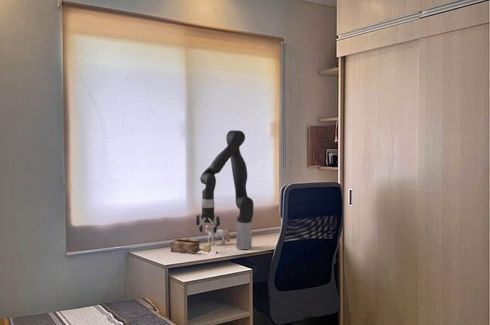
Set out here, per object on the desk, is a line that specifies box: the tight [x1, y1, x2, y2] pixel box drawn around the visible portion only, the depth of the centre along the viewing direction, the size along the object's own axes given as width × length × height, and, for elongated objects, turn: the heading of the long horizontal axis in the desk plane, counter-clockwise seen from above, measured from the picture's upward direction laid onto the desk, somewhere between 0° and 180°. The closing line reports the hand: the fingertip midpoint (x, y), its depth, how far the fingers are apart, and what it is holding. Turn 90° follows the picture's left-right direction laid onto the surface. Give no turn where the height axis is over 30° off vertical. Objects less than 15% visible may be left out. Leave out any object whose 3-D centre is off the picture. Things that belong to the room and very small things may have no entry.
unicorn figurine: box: [203, 224, 231, 246], centre depth 321 cm, size 7×20×13 cm, turn 119°
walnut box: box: [170, 237, 201, 254], centre depth 306 cm, size 14×12×6 cm
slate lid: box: [199, 242, 212, 253], centre depth 303 cm, size 12×8×6 cm
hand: (208, 232), depth 301 cm, fingers open, 8 cm apart
